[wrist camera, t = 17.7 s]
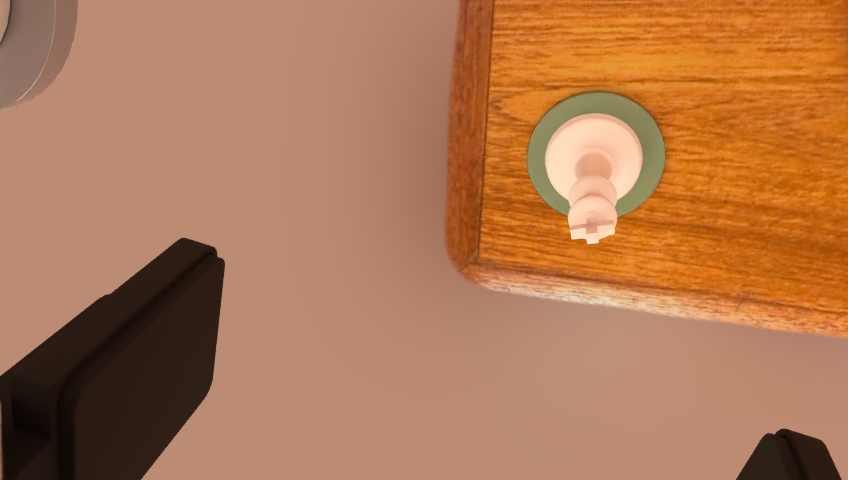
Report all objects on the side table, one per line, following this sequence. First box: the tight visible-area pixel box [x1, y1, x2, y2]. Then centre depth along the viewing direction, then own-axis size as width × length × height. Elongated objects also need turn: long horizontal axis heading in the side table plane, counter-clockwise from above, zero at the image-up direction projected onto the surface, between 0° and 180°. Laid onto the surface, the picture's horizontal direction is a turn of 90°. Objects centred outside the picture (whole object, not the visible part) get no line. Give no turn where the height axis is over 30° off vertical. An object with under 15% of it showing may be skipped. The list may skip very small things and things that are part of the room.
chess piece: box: [545, 113, 643, 244], centre depth 31 cm, size 5×5×10 cm
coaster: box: [527, 91, 665, 217], centre depth 36 cm, size 7×7×1 cm
